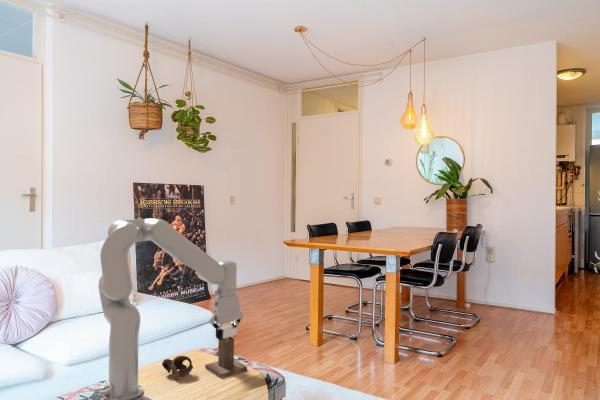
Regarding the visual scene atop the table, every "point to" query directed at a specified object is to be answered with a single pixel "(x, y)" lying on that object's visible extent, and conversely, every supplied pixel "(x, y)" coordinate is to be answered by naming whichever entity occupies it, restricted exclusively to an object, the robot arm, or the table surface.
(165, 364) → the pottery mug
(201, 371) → the table surface
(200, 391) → the table surface
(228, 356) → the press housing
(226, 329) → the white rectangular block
